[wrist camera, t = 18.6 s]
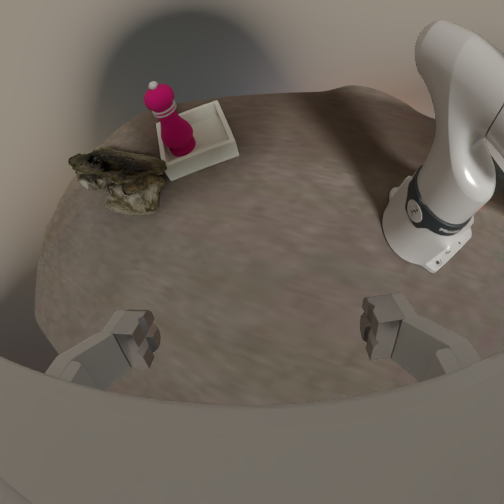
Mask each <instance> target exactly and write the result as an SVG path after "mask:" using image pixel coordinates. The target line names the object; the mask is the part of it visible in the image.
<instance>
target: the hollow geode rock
mask: <svg viewBox="0 0 504 504" xmlns="http://www.w3.org/2000/svg"><path fill="white" fill-rule="evenodd" d="M68 162H69V165H71V166H72V168H73V170H76V172H75V173H76V174H77V175H78V181H79V182H80V183H81V184H82V185H83V186H84V187H86V188H87V189H88V190H96V189H100V190H102V191H103V192H104V200H105V206H106V209H109V210H112V211H113V212H118V213H122V214H131V215H152V214H154V213H155V212H156V211H157V209H158V206H159V201H158V199H159V192H160V191H161V190H162V188H163V187H164V184H165V179H164V178H163V177H162V176H158V175H160V174H163V170H167V166H166V162H165V161H164V160H162V159H160V158H157V157H156V158H155V157H152V156H148V155H146V154H143V155H142V154H133V153H130V152H125V151H117V150H114V149H112V148H101V149H99V150H94V151H93V152H92V153H89V154H87V155H86V154H78V155H75V156H73V157H71V158H69V161H68ZM155 174H157V175H155ZM163 175H164V174H163Z"/></svg>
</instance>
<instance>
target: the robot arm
mask: <svg viewBox="0 0 504 504" xmlns="http://www.w3.org/2000/svg"><path fill="white" fill-rule="evenodd" d="M415 61H416V66H417V69H418V71H419V74H420V75H421V77H422V79H423V80H424V82H425V84H426V86H427V88H428V90H429V93H430V95H431V99H432V102H433V105H434V110H435V118H436V135H435V140H434V143H433V146H432V148H431V150H430V153H429V155H428V157H427V159H426V161H425V163H424V164H423V165H421V166H420V167H419V168H418V170H416V172H415V173H414V174H413V176H408V177H407V178H406V179H405V180H404V181H403V183H402V184H401V185H400V187H395V188H392V189H391V191H390V193H389V203H388V205H387V207H386V209H385V211H384V214H383V220H382V225H383V231H384V235H385V237H386V240H387V242H388V243H389V245H390V247H391V248H392V249H393V250H394V252H395V253H396V254H397V255H399V256H400V257H401V258H403V259H404V260H406V261H408V262H410V263H414V264H418V265H421V266H423V267H424V268H425V269H426V270H428V271H429V272H431V273H435V272H436V271H438V270H439V269H440V268H441V267H442V266H443V265H444V264H445V263H446V262H447V261H448V260H449V259H450V258H451V257H452V256H453V255H454V254H455V253H456V252H457V251H458V250H459V249H460V248H461V247H462V246H463V245H464V244H465V243H466V242H467V241H468V240H469V239H470V238H471V236H472V233H471V227H470V226H471V225H472V224H473V223H474V216H473V215H474V214H475V213H476V212H477V211H479V210H480V209H481V208H482V207H483V205H484V204H485V203H486V202H487V201H488V200H489V199H490V198H491V197H492V195H493V193H494V190H495V183H496V175H495V167H494V163H493V160H492V158H491V155H490V153H489V150H488V147H487V143H486V139H487V140H488V141H489V142H490V143H491V144H492V145H493V146H494V147H495V148H496V149H497V151H498V152H499V153H500V154H501V155H502V156H503V158H504V53H503V52H502V51H500V50H499V49H498V48H496V47H495V46H494V45H493V44H491V43H490V42H489V41H487V40H486V39H484V38H483V37H481V36H480V35H479V34H477V33H475V32H473V31H471V30H468V29H466V28H464V27H462V26H459V25H457V24H455V23H452V22H449V21H446V20H439V21H435V22H433V23H431V24H429V25H428V26H427V27H425V28H424V29H423V30H422V31H421V33H420V34H419V36H418V38H417V41H416V45H415ZM436 262H437V263H438V264H436ZM362 308H363V310H364V313H363V314H362V315H361V319H360V331H361V336H362V339H363V340H364V341H365V342H367V345H366V350H367V353H368V356H369V359H370V361H373V360H380V359H386V358H391V359H392V360H393V361H395V362H396V363H397V364H398V365H399V366H401V367H402V368H403V369H404V370H405V371H407V372H408V373H409V374H410V375H411V376H413V377H414V378H415V379H416V380H417V381H418V383H414V384H410V385H406V386H402V387H398V388H394V389H389V390H385V391H380V392H375V393H370V394H365V395H359V396H353V397H347V398H340V399H332V400H324V401H315V402H305V403H292V404H274V405H216V404H198V403H185V402H174V401H165V400H157V399H150V398H143V397H137V396H131V395H125V394H120V393H115V392H110V391H106V390H108V389H109V388H110V387H111V386H112V385H113V384H114V383H115V382H117V381H118V380H119V379H120V378H121V377H122V376H123V375H124V374H126V373H127V372H128V371H129V370H130V369H131V367H133V368H145V369H149V368H150V366H151V363H152V361H153V359H154V355H153V352H155V351H156V350H158V348H159V345H160V338H161V337H160V332H159V329H158V327H157V326H156V325H155V324H153V321H154V317H153V314H152V312H151V311H149V310H125V309H119V310H116V312H115V313H114V314H113V316H112V317H111V318H110V320H109V321H108V323H107V324H106V325H105V327H104V328H103V330H102V331H101V332H100V333H96V334H94V335H92V336H91V337H89V338H87V339H86V340H84V341H82V342H81V343H79V344H77V345H75V346H74V347H72V348H70V349H69V350H67V351H65V352H64V353H62V354H60V355H58V356H57V357H56V358H55V360H54V361H53V363H52V364H51V365H50V367H49V368H48V370H47V371H46V373H45V374H43V373H41V372H38V371H35V370H32V369H29V368H27V367H24V366H21V365H19V364H16V363H14V362H12V361H9V360H7V359H5V358H3V357H0V504H504V351H503V352H501V353H498V354H496V355H494V356H492V357H489V358H487V359H485V360H481V358H480V357H479V355H478V354H477V352H476V351H475V349H474V348H473V346H472V345H471V343H470V342H469V340H467V339H465V338H463V337H461V336H459V335H457V334H456V333H454V332H452V331H450V330H448V329H446V328H444V327H442V326H440V325H438V324H436V323H434V322H432V321H430V320H428V319H426V318H424V317H422V316H420V317H418V316H417V314H416V312H415V311H414V309H413V308H412V306H411V305H410V303H409V302H408V300H407V299H406V298H405V296H404V295H403V293H401V292H396V293H391V294H387V295H380V296H373V297H365V298H364V300H363V304H362Z"/></svg>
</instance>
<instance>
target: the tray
mask: <svg viewBox="0 0 504 504" xmlns="http://www.w3.org/2000/svg"><path fill="white" fill-rule="evenodd" d="M178 115H179V116H180V117H181V118H183V119H184V120H186V121H187V122H188V123H189V124H190V125H191V127H192V129H193V137H194V139H195V141H196V145H195V148H194V149H193V150H192V151H191V152H190V153H189V154H187V155H185V156H181V157H178V156H174V155H173V154H172V153H171V151H170V150H169V148H168V147H167V146H165V145H164V143H163V141H162V139H161V124H160V122H159V123H156V128H157V135H158V142H159V149H160V156H161V159H162V160H164V161H165V162H166V166H167V170H164V172H165V173H166V175H167V176H168V178H169V179H170V181H173V180H176V179H178V178H181V177H183V176H186V175H188V174H191V173H193V172H196V171H198V170H201V169H204V168H206V167H209V166H212V165H215V164H217V163H220V162H223V161H226V160H229V159H232V158H234V157H237V156H239V153H238V149H237V145H236V141H235V139H234V136H233V134H232V132H231V130H230V127H229V125H228V123H227V120H226V118H225V116H224V114H223V111H222V109H221V107H220V105H219V102H218V100H216V101H213V102H210V103H207V104H204V105H202V106H199V107H196V108H193V109H191V110H188V111H185V112H183V113H180V114H178Z"/></svg>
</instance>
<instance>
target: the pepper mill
mask: <svg viewBox="0 0 504 504" xmlns="http://www.w3.org/2000/svg"><path fill="white" fill-rule="evenodd" d="M173 99H174V93H173V90H172V89H171V87H169V86H168V85H165V84H157V82H155V81H152V82H150V83H149V90H148V91H147V92H146V94H145V96H144V102H145V105H146V107H147V108H148V109H150V110H152V113H153V114H154V116H155V117H156V118H158V119H159V121H160V124H161V139H162V141H163V143H164V145H165V146H167V147H168V148H169V150H170V151H171V153H172V154H173V155H174V156H178V157H181V156H185V155H187V154H189V153H190V152H191V151H192V150H193V149H194V148H195V145H196V141H195V139H194V137H193V129H192V127H191V125H190V124H189V123H188V122H187V121H186V120H184V119H183V118H181V117H180V116H179V115H178V113H177V111H176V103H175V101H174V100H173Z"/></svg>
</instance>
